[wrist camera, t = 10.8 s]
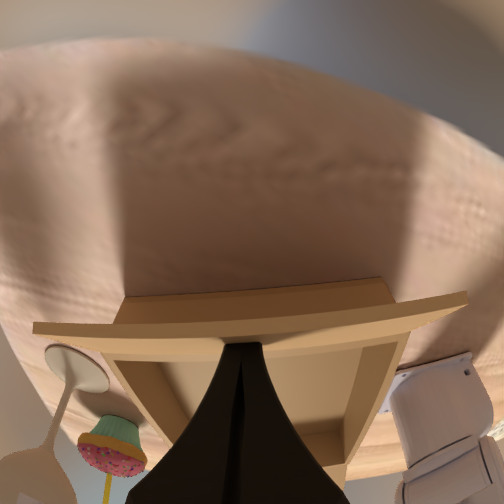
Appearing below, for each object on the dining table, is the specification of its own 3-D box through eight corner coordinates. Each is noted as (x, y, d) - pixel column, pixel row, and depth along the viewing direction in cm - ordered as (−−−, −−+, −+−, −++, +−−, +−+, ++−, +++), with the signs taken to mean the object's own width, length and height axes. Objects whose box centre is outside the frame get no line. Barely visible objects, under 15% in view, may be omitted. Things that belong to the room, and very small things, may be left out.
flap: (32, 333, 9) (33, 321, 10) (103, 352, 15) (103, 344, 15) (469, 303, 9) (466, 291, 9) (407, 332, 14) (406, 323, 14)
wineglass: (38, 333, 22) (-40, 531, 4) (111, 362, 23) (57, 585, 5) (49, 376, 25) (-3, 539, 8) (112, 400, 27) (75, 576, 9)
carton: (381, 276, 18) (410, 331, 14) (342, 427, 30) (349, 464, 26) (124, 297, 19) (100, 352, 15) (196, 436, 31) (193, 473, 26)
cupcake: (156, 442, 33) (144, 522, 22) (97, 429, 32) (78, 503, 22) (147, 415, 28) (129, 513, 18) (78, 398, 28) (50, 487, 17)
